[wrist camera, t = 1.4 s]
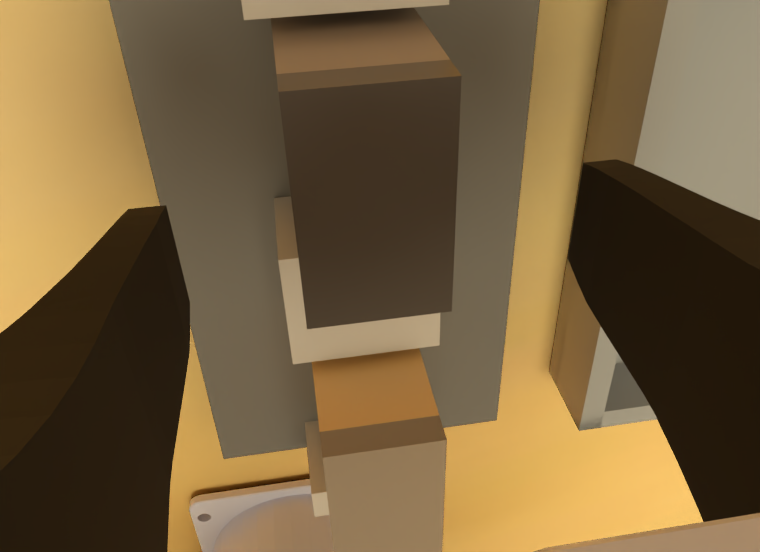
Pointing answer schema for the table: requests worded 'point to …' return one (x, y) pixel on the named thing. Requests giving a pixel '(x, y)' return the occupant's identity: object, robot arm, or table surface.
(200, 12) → the block
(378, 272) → the block
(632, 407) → the parts tray
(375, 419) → the fuse
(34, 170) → the table surface
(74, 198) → the table surface
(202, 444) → the table surface
